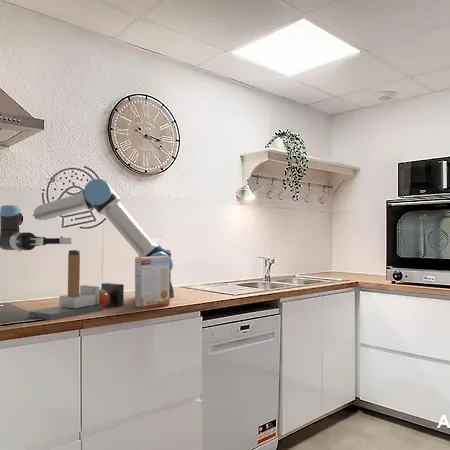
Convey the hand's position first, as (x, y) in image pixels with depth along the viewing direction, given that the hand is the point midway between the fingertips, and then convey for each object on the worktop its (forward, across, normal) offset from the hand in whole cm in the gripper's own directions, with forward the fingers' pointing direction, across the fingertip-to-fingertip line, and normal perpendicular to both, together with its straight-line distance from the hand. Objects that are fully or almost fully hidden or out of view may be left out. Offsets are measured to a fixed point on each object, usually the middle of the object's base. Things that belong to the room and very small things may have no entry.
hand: (56, 241), depth 174 cm
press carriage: (+10, -3, -25) cm, 27 cm away
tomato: (+10, -14, -28) cm, 33 cm away
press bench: (+10, -4, -27) cm, 29 cm away
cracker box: (+25, -28, -28) cm, 47 cm away
